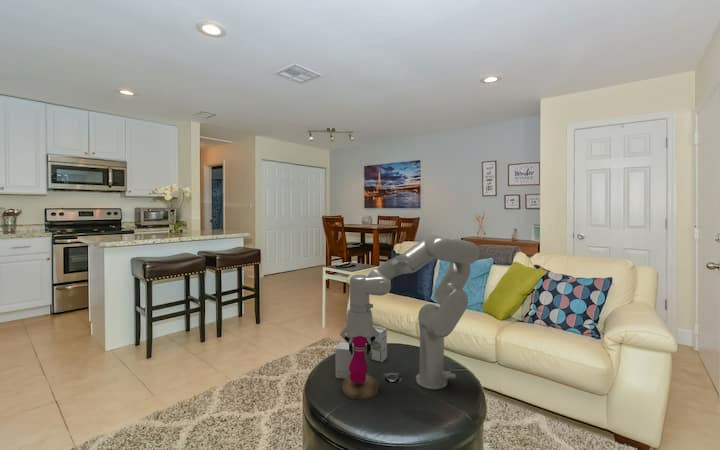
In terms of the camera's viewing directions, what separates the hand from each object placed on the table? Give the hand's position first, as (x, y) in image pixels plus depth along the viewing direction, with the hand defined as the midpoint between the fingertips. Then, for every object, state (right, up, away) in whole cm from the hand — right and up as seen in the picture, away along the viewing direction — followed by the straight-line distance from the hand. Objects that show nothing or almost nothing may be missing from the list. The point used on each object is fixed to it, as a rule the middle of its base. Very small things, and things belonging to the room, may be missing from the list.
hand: (359, 352), depth 139 cm
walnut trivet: (0, -15, +1) cm, 15 cm away
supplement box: (-6, -14, +13) cm, 20 cm away
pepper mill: (-1, -11, 0) cm, 11 cm away
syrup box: (+9, -13, +27) cm, 31 cm away
